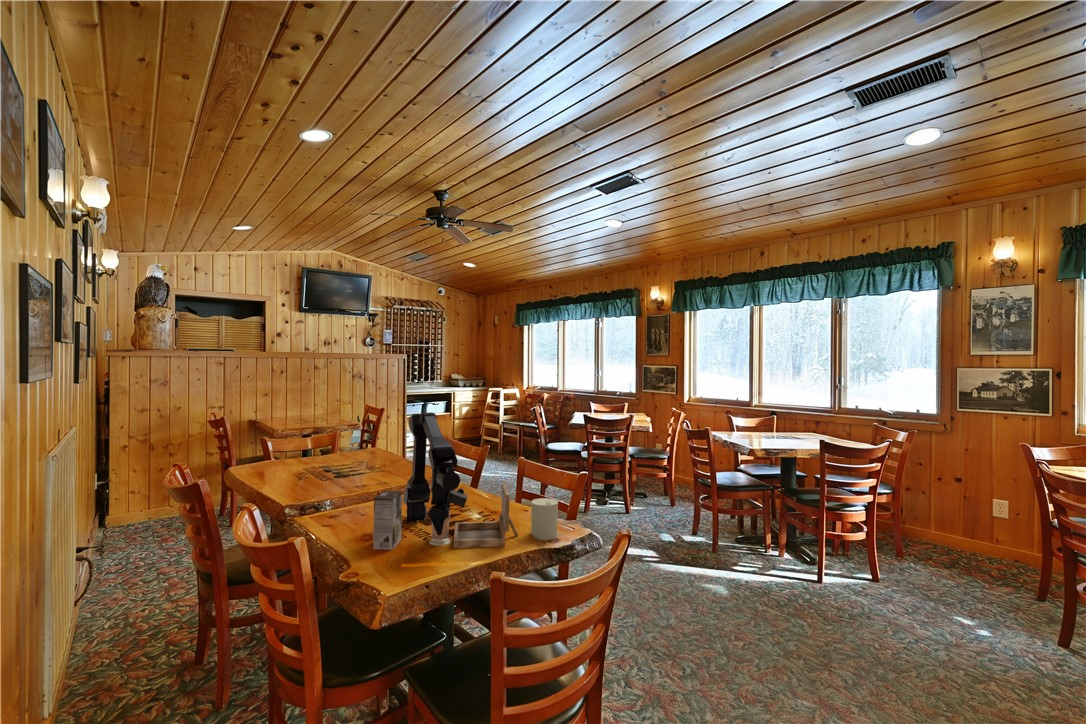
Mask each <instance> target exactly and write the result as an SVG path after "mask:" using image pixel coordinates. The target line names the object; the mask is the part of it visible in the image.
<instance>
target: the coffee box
mask: <svg viewBox="0 0 1086 724" xmlns="http://www.w3.org/2000/svg"><path fill="white" fill-rule="evenodd" d="M402 492H403V491H400V490H399V491H397V490H383V491H381V492H380V493H379V494H378V495H376V496H375V497H374V498H373V538H372V539H373V542H372V543H373V544H372V545H373V547H372V548H373V550H382V549H383V550H386V551H388V550H389V551H392V550H394V549H395V548H396V546H398V544H399V543H400V542H401V541H402V514H403V513H402V512H403V509H402V508H403V507H402V504H403V503H402V501H403V500H402V499H403V496H402V495H403V494H402Z"/></svg>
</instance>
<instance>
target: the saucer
mask: <svg viewBox="0 0 1086 724" xmlns="http://www.w3.org/2000/svg"><path fill="white" fill-rule="evenodd" d="M451 542H452V540H451V539H450V538H449V537H448V538H447V539H443V540H435V539H432V538H431V539H430V540H429V541H428V543H429V545H432V546H439V547H440V546H441V547H442V546H446V545H449V544H450V543H451Z"/></svg>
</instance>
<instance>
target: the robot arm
mask: <svg viewBox="0 0 1086 724" xmlns="http://www.w3.org/2000/svg"><path fill="white" fill-rule="evenodd" d="M407 420H408V426H409V431H410V433H411V434H412V437H413V444H412V445H413V448H412V449H413V450H412V451H413V452H412V469H411V471H412V472H411V477H409V479H408V481H407V484H406V488H405V490H404V492H403V494H402V495H403V496H402V499H403V500H402V501H403V504H405V505H406V519H405V522H407V523H408V522H409V523H410V522H418V521H425V519H426V518H427V519H430V521H431V524H432V523H433V525H434V527H435V530H436V532H437V535H441V534H442V529H443V524H444V520H445V519H446V518H449V514H450V509H451V507H452V506H451V504H452V505H456V506H459V507H460V508H465V505H466V503H467V500H468V494H467V493H465V490H464V488H463V487H462V488H461V487H459V486H460V484H461V478H460V475H459V474H458V473H457V472H455V468H457V467H458V461H459V460H458V457H457V455H456V451H455V449H454V447H453V446H452V444H451V442H450V441H449V440H448V439H446V438H444V436H443V434H442V431H441V428H440V426H439V423H438V422H437V421H438V420H437V415H436V413H435V412H432V411H431V412H422V413H412V414H411V416H409V417H408V419H407ZM427 441H428V444H429V449H428V451H427ZM427 452H428V453H427ZM427 454H428V455H427ZM427 457H428V461H429V463H430V467H431V487H430V483H429V482H428V480H427V478H426V462H427V460H426V459H427ZM430 496H431V497H430ZM430 499H431V500H430ZM429 502H430V505H431V507H430V508H428V507H427V505H426V503H427V504H428V503H429ZM427 508H428V513H427ZM427 515H428V516H427Z"/></svg>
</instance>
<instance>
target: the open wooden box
mask: <svg viewBox="0 0 1086 724" xmlns="http://www.w3.org/2000/svg"><path fill="white" fill-rule="evenodd" d="M515 527H516V526H515V525H514V523H513V520H512V519H511V517H510V493H509V489H508V484H507V481H506V480H504V481H501V513H500V514H498V521H470V522H469V521H468V522H464V521H463V522H455V525H454V533H453V548H454V549H461V548H462V549H463V548H465V549H466V548H489V547H490V548H491V547H493V548H494V547H506V533H508V532H510V528H511V530H512V532H513V535H514V536H515V537H516V538H517V537H519V534H518V531H517V530H516V528H515Z"/></svg>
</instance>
